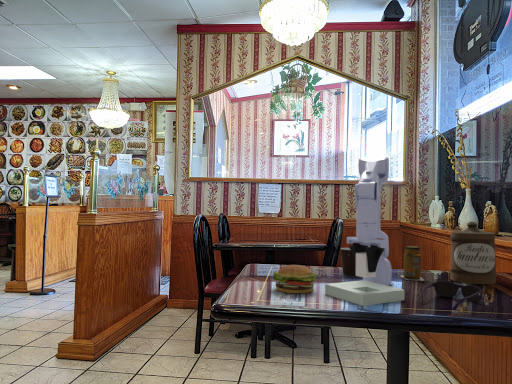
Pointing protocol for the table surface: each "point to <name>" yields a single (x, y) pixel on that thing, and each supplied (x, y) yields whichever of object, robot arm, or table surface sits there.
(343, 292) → the pale green square slab
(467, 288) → the sunglasses
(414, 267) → the condiment
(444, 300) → the table surface
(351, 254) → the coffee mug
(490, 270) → the wooden container
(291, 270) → the food
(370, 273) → the block
